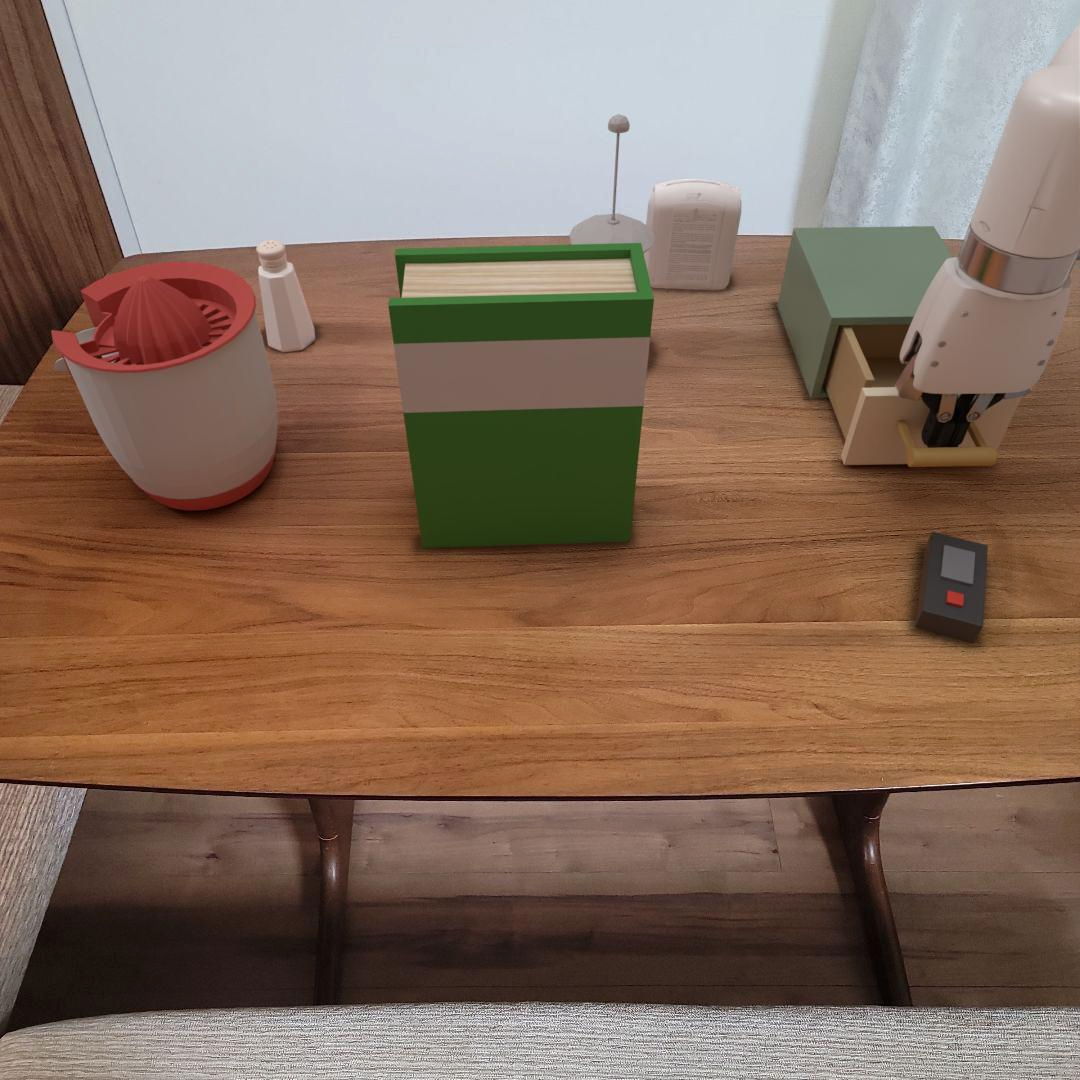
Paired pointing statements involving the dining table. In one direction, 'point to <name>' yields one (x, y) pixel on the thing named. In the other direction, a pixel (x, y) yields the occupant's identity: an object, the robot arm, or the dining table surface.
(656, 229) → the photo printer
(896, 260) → the cabinet
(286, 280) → the salt shaker
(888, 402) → the drawer
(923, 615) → the remote
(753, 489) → the dining table surface
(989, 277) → the robot arm
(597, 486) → the hardback book
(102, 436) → the citrus juicer
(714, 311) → the dining table surface
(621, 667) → the dining table surface
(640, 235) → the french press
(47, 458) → the dining table surface
